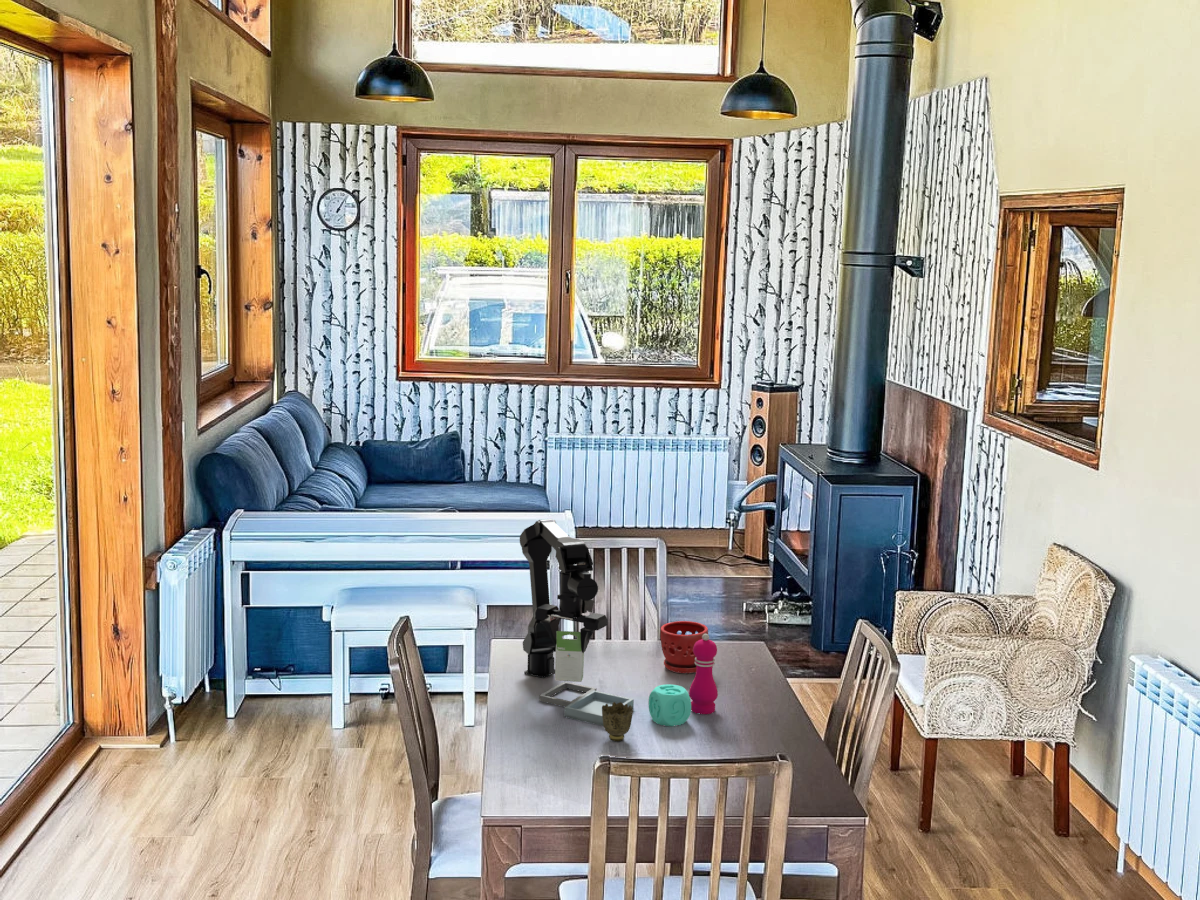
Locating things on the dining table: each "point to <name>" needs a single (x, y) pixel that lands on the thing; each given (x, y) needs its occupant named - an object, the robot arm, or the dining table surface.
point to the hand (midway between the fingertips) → (570, 649)
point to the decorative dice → (669, 705)
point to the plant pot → (681, 645)
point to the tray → (593, 706)
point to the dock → (546, 696)
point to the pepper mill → (704, 677)
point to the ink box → (569, 658)
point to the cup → (617, 720)
